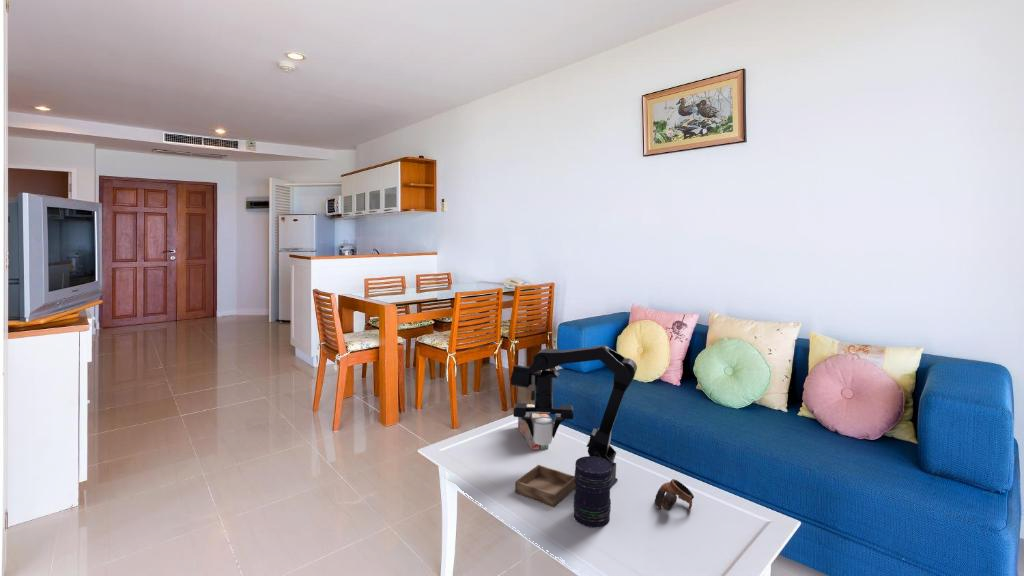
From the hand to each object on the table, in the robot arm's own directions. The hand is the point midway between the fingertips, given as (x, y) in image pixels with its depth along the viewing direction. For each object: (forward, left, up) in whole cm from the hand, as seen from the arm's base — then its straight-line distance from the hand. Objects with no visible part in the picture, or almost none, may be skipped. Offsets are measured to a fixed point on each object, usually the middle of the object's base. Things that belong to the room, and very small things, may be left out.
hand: (543, 436), depth 158 cm
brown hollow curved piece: (-41, -2, -12) cm, 42 cm away
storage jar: (-24, +15, -12) cm, 31 cm away
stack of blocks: (+16, -20, -12) cm, 28 cm away
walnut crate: (-7, +10, -11) cm, 17 cm away
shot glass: (0, 0, -2) cm, 2 cm away
